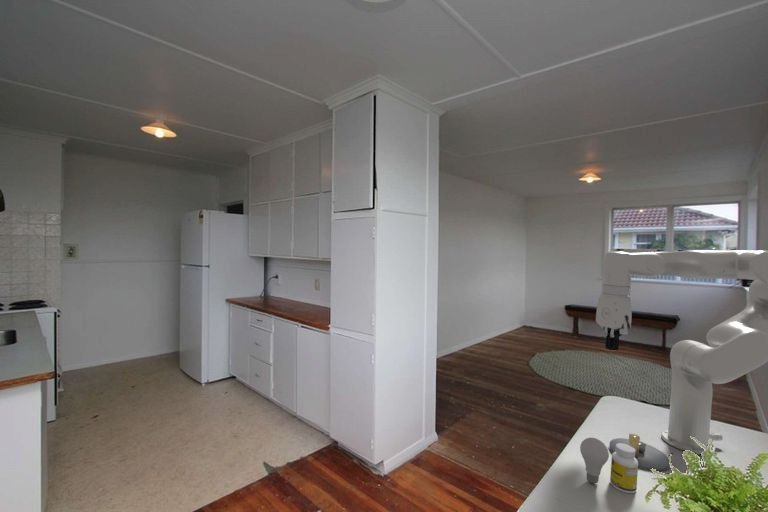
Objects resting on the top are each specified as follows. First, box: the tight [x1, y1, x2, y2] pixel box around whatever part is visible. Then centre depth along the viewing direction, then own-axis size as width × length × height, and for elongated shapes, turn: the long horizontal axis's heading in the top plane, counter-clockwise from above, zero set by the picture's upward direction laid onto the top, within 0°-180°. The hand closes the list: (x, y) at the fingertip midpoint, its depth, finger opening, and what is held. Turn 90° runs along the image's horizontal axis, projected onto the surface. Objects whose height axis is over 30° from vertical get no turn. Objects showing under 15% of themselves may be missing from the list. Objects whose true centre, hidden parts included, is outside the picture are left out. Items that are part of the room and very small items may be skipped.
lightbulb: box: [579, 437, 610, 485], centre depth 89 cm, size 6×6×11 cm
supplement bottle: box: [609, 443, 639, 494], centre depth 89 cm, size 5×5×10 cm
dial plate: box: [608, 437, 670, 472], centre depth 103 cm, size 14×14×2 cm
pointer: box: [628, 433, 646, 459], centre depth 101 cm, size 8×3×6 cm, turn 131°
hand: (611, 349), depth 114 cm, fingers closed
